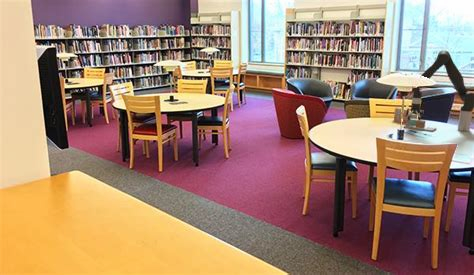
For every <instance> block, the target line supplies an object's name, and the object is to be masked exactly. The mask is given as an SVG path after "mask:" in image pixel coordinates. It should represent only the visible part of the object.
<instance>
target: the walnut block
mask: <svg viewBox="0 0 474 275" xmlns="http://www.w3.org/2000/svg"><path fill="white" fill-rule="evenodd" d="M416 127H417V128H424V127H426V120H424V119H423V120H422V119H421V120H417V121H416Z"/></svg>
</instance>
